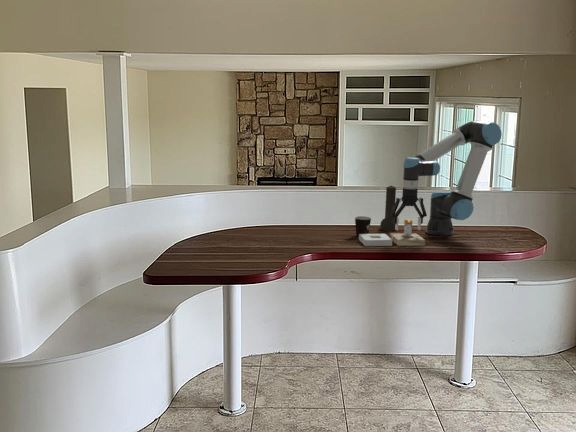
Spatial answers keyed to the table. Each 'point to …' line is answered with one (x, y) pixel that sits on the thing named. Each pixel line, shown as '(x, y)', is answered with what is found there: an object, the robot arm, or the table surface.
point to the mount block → (375, 240)
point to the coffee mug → (362, 225)
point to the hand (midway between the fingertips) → (407, 229)
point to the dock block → (407, 240)
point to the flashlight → (389, 210)
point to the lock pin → (407, 228)
